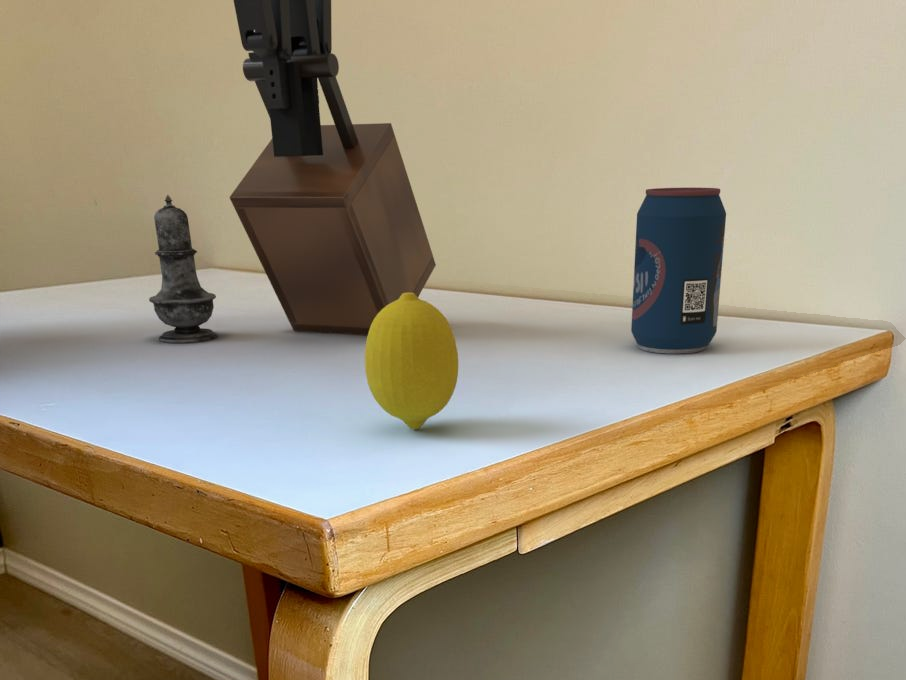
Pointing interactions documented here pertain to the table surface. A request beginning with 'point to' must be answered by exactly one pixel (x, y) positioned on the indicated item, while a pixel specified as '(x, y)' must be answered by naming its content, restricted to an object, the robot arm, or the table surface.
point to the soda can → (678, 269)
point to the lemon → (411, 360)
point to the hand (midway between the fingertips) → (298, 155)
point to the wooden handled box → (334, 217)
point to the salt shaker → (180, 280)
